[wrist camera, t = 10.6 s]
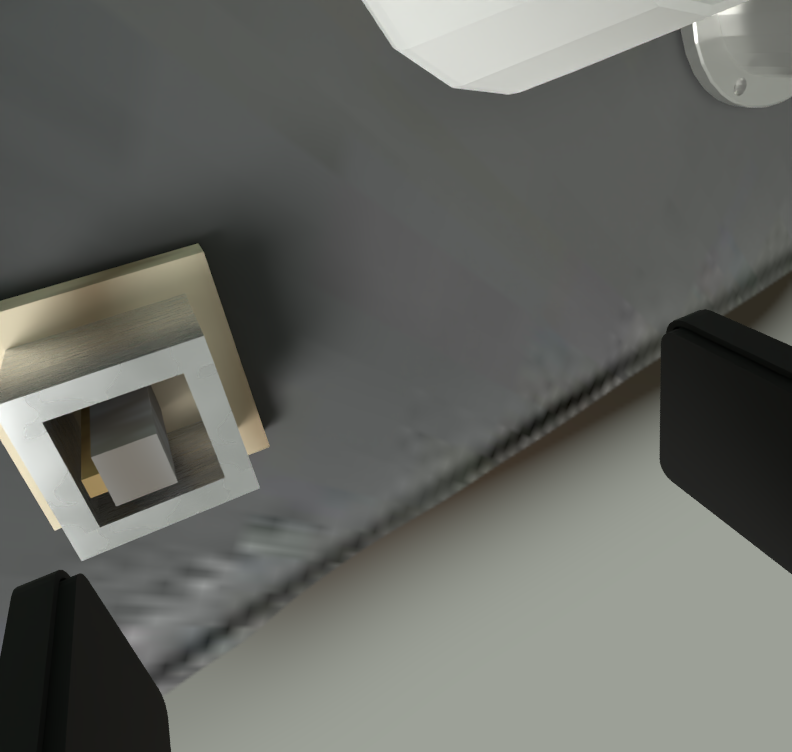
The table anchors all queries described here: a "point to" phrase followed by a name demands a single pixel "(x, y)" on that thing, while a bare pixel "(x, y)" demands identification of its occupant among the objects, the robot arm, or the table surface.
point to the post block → (146, 407)
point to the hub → (107, 378)
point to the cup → (526, 35)
